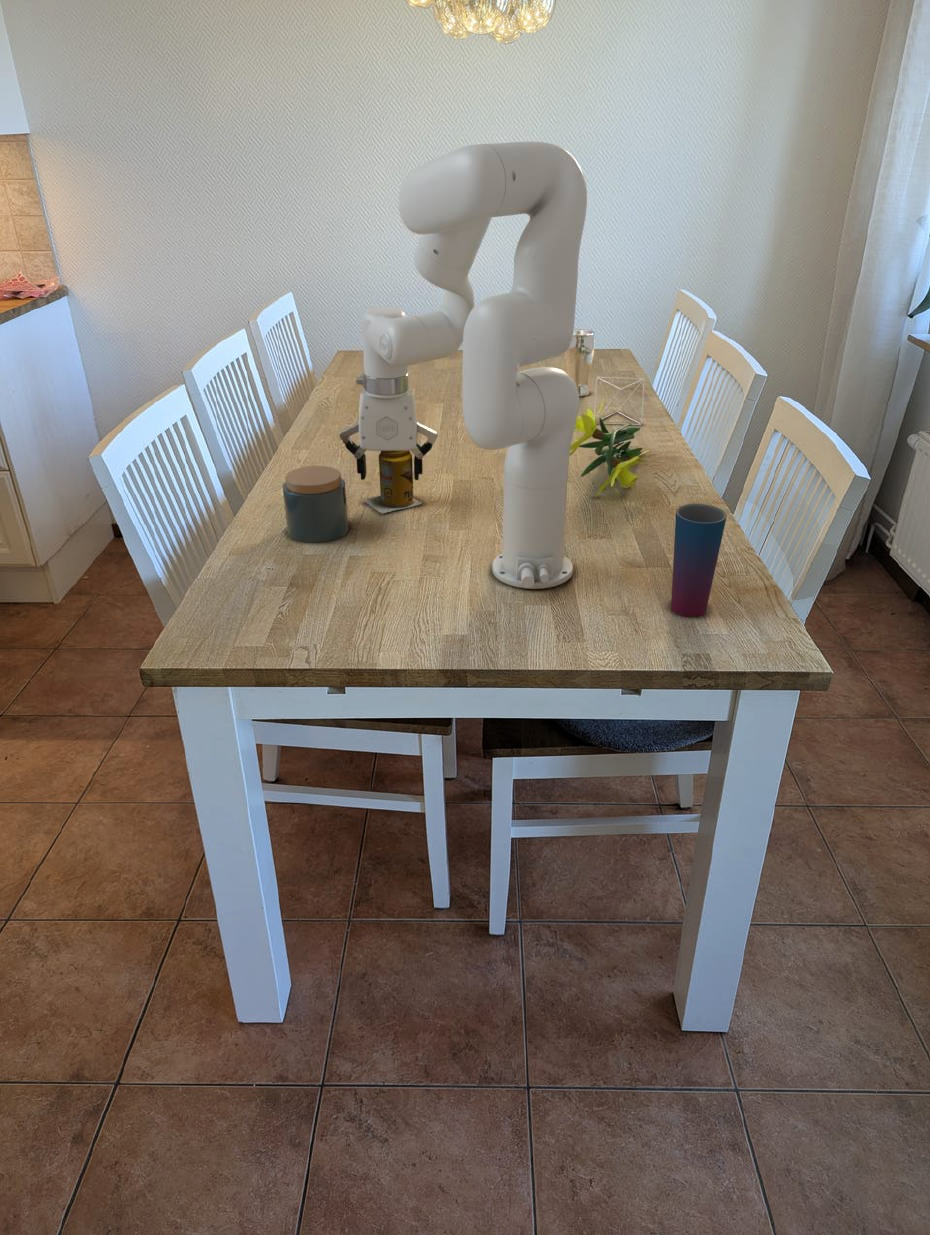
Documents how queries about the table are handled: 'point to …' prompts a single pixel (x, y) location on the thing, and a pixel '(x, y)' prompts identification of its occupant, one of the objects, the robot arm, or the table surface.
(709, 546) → the cup
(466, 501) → the table surface
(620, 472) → the daffodil flowers
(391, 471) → the yellow coffee bottle
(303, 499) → the blue jar
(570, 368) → the beer glass
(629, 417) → the geometric polyhedron
